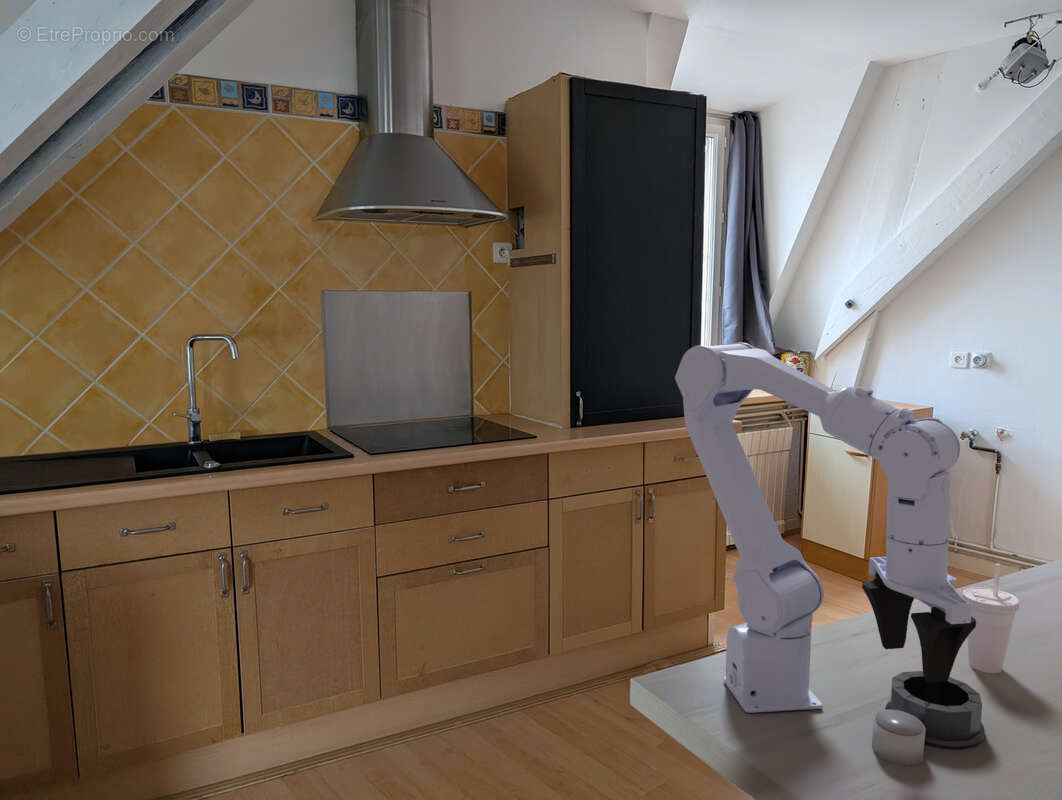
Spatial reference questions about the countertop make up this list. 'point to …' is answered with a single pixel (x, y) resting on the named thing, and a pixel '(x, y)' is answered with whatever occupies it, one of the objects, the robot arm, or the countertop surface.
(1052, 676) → the countertop surface
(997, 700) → the countertop surface
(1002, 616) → the smoothie
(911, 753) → the cap
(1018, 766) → the countertop surface
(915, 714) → the dark grey pot
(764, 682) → the robot arm
